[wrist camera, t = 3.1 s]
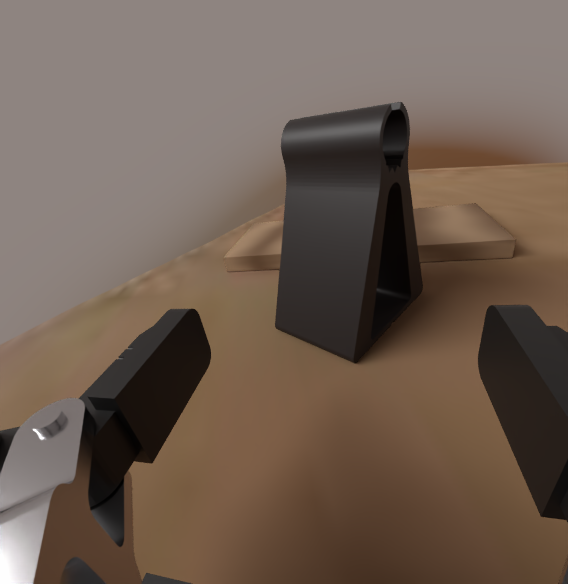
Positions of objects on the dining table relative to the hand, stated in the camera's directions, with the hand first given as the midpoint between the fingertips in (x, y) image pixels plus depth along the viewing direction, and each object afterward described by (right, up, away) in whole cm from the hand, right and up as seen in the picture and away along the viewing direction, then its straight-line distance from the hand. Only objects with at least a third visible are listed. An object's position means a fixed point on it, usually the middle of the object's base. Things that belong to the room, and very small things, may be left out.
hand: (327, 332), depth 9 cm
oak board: (+6, +6, +23) cm, 24 cm away
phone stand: (+3, 0, +13) cm, 13 cm away
